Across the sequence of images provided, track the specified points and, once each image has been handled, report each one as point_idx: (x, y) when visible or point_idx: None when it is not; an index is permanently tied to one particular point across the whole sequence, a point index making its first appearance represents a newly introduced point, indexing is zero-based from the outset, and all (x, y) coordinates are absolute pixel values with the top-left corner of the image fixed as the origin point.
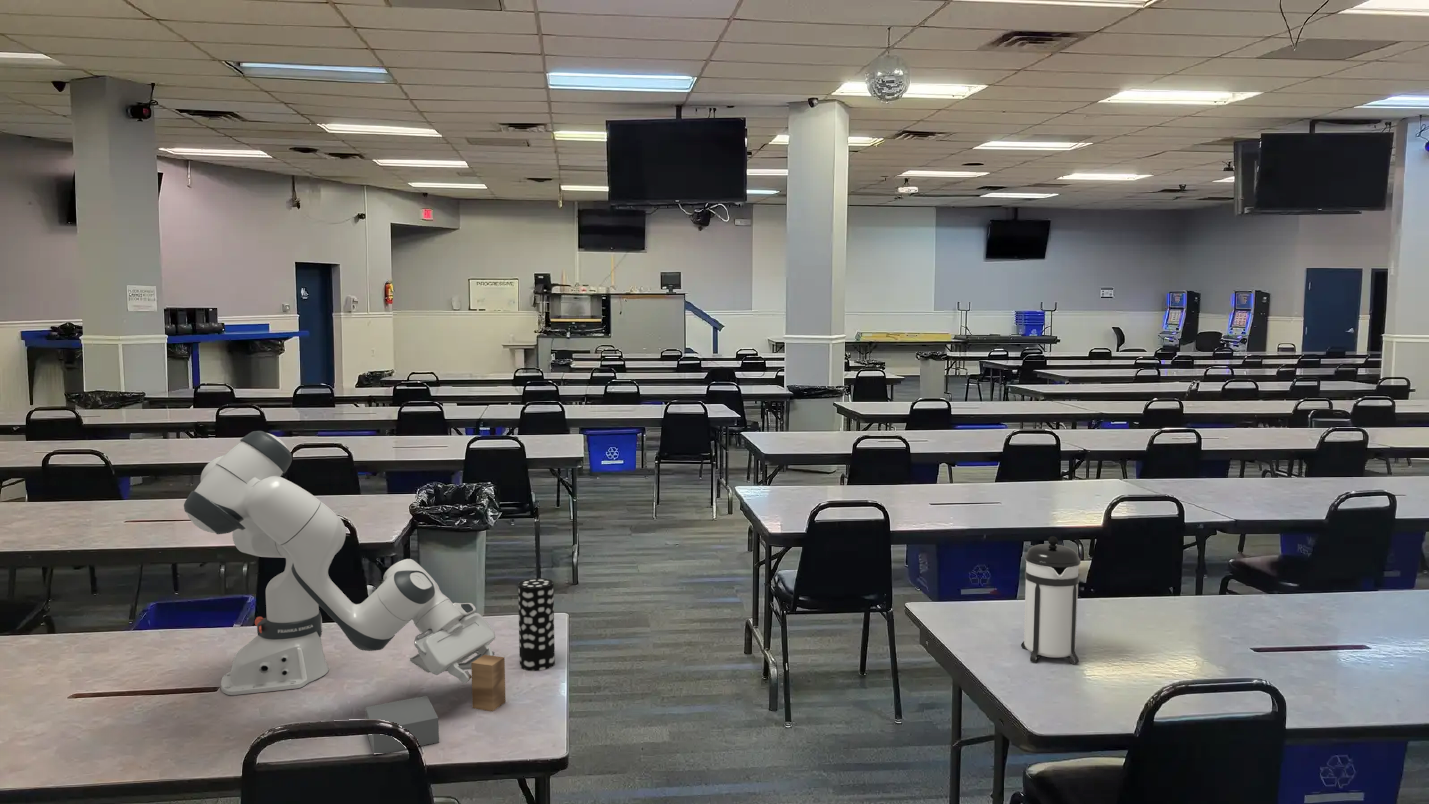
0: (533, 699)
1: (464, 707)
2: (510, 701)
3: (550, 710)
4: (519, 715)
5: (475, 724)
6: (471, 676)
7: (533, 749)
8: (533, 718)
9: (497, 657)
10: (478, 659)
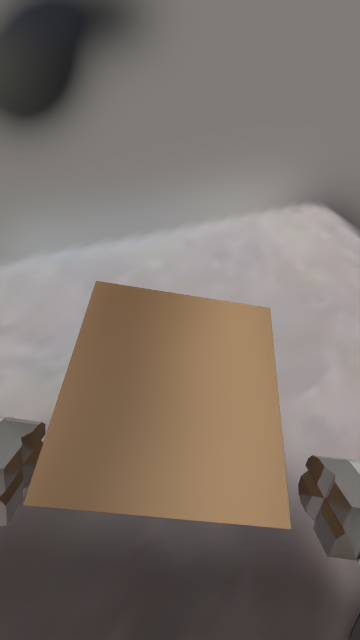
0: None
1: None
2: None
3: (157, 247)
4: None
5: (295, 396)
6: (314, 456)
7: (327, 234)
8: (208, 268)
9: (104, 328)
10: (183, 496)
